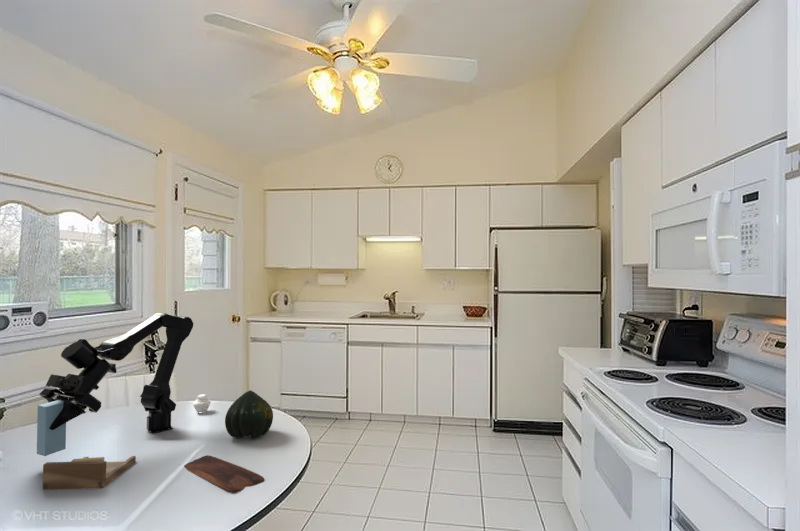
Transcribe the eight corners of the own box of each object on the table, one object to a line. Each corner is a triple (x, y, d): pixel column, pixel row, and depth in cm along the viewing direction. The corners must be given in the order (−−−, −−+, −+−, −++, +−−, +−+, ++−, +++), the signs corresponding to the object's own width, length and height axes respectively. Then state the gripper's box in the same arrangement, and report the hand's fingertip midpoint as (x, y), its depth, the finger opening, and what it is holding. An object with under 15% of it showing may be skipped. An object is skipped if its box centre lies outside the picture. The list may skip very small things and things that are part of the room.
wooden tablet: (178, 462, 120) (211, 446, 128) (178, 469, 120) (212, 454, 128) (231, 492, 104) (266, 472, 112) (232, 501, 104) (267, 480, 112)
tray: (83, 465, 119) (84, 440, 119) (136, 464, 120) (136, 439, 120) (42, 493, 104) (43, 464, 104) (102, 492, 105) (103, 463, 105)
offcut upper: (73, 468, 109) (73, 459, 109) (104, 466, 111) (104, 456, 111) (64, 476, 105) (64, 465, 105) (96, 473, 107) (96, 463, 107)
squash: (245, 432, 130) (266, 387, 140) (208, 427, 136) (231, 384, 146) (269, 450, 140) (287, 407, 150) (233, 445, 145) (253, 403, 155)
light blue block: (57, 446, 119) (58, 400, 119) (65, 448, 118) (66, 401, 118) (36, 453, 114) (37, 405, 115) (44, 456, 113) (45, 407, 113)
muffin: (213, 410, 168) (214, 392, 168) (203, 415, 162) (203, 396, 162) (200, 409, 169) (200, 391, 169) (189, 414, 163) (189, 395, 163)
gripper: (47, 359, 123) (-1, 409, 113) (91, 364, 117) (44, 418, 106) (76, 380, 131) (33, 428, 120) (118, 386, 124) (77, 438, 114)
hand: (46, 428), depth 115 cm, fingers closed on light blue block, 3 cm apart
